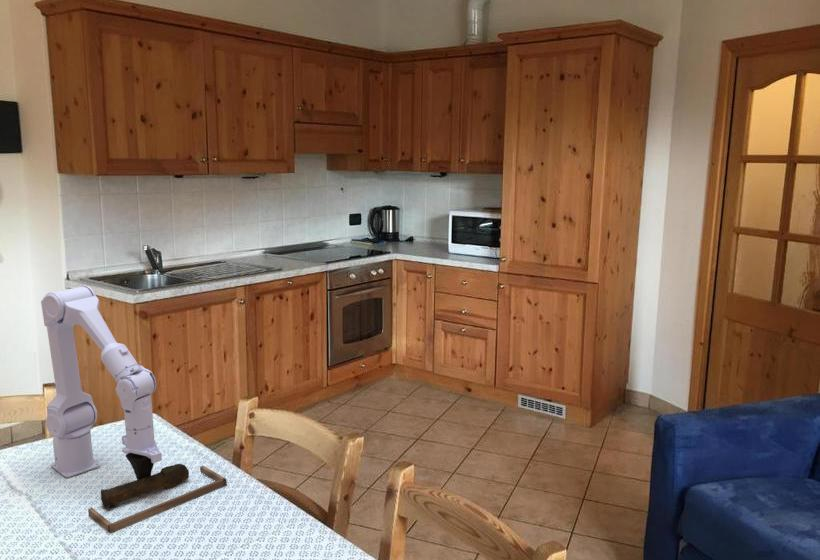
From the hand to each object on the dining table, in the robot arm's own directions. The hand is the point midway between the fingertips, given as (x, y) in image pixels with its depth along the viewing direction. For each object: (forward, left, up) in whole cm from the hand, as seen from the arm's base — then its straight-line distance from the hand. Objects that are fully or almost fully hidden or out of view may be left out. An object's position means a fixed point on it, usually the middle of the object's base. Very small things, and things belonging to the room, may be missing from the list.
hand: (144, 482), depth 152 cm
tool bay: (+7, 0, -1) cm, 7 cm away
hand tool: (+2, -1, -2) cm, 3 cm away
